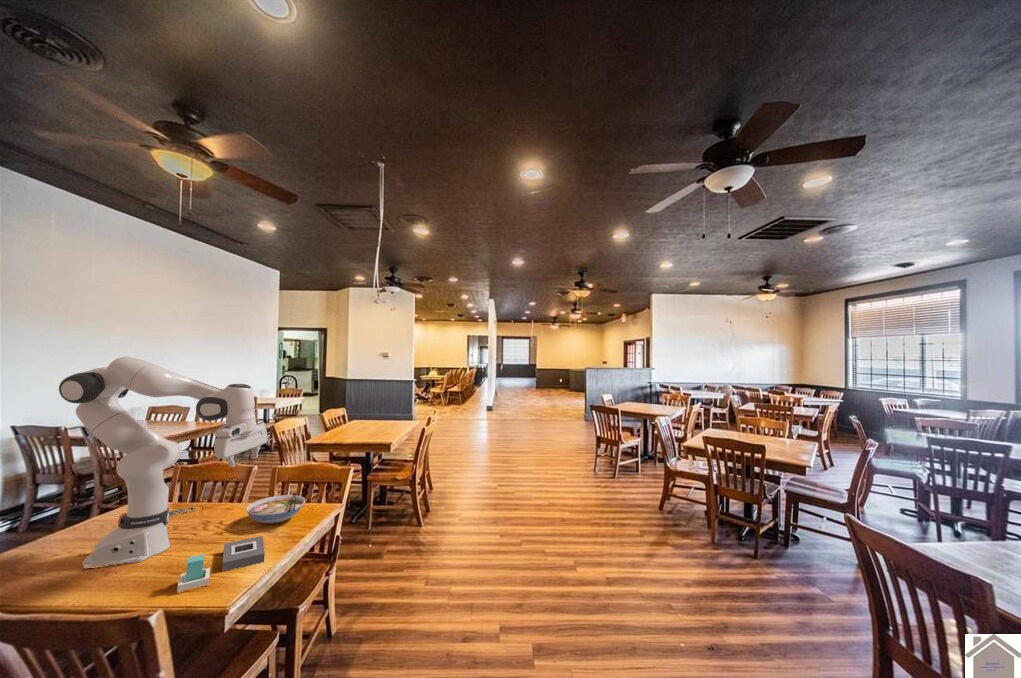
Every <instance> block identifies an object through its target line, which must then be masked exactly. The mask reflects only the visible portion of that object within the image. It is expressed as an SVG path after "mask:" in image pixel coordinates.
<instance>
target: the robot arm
mask: <svg viewBox="0 0 1021 678" xmlns="http://www.w3.org/2000/svg"><path fill="white" fill-rule="evenodd" d="M129 391H131V392H134V393H136V394H138V395H142V396H146V397H152V398H164V397H175V396H176V397H177V396H178V397H181V396H182V397H189V398H193V399H196V400H198V401H197V403H196V406H195V411H196V415H197V416H198V417H199V419H201V420H203V421H206V422H209V421H210V422H212V421H213V422H214V421H217V420H221V419H226V422H227V423H225V424H224V425H223V426H221V427H219V428H218V429H217V430H215V431H214V437H215V440H214V444H213V446H214V456H215V458H216V459H218V460H219V459H220V460H221V459H223V460H224V459H225V460H226V461H227V463H228V464H229V465H228V466H229V468H236V467H237V466H238V462H237V461H235V460H234V459H235V455H237V454H241V453H243V452H247V451H249V450H251V449H253V450H252V453H251V454H250V459H253V460H255V459H258V457H259V455H258V454H259V451H260V449H261V446H262V445H264V444H265V445H266V444H267V442H268V440H269V439H268V430H267V428H266V423H265V422H263V421H262V420H260V421H256V413H255V405H256V404H255V395H254V391H253V388H252V387H251V386H250V385H249V384H246V383H245V384H244V383H231V384H228V385H227V386H226V387H225V388H219V387H215V386H213V385H209V384H207V383H205V382H201V381H198V380H195V379H192V378H189V377H187V376H184V375H181V374H179V373H176V372H175V371H171V370H169V369H166V368H164V367H162V366H159V365H156V364H155V363H152V362H149V361H146V360H144V359H143V360H142V359H139V358H136V357H132V356H121V357H118V358H116V359H114V360H112V362H111V363H109V364H108V366H104V367H98V368H92V369H90V370H86V371H83V372H77V373H74V374H71V375H69V376H67V377H65V378H63V379H62V381H61V382H60V383H59V385H58V392H59V395H60V396H61V398H62V399H63V400H64V401H66V402H68V403H71V404H78V405H77V406H76V408H75V414H76V416H77V418H78V419H79V421H80V422H81V423H82V424H83V426H84V427H85V428H86V429H87V430H88V431H89V432H90V434H93V436H95V437H96V438H97V439H98V440H99V441H101V442H102V444H104V445H105V446H106V447H107V448H109V449H111V450H114V451H118V452H120V453H124V454H125V455H124V456H123V457H121V458H120V460H119V461H118V462H117V464H116V473H117V475H118V476H119V477H120V478H121V479H122V480H123V481H124V483H125V486H126V489H127V507H126V508H127V510H126V512H123V513H121V515H120V516H119V518H118V522H117V527H116V528H115V529H113V530H112V531H110V532H109V533H108V534H107V535H105V536H104V537H102V538H101V539H100V540H99V541H98V542H97V544H96V545H95V547H94V549H93V551H92V553H90V554H89V555H88V556H86V557H85V559H84V560H83V561H82V564H81V566H82V565H83V567H86V568H87V567H96V566H105V565H115V564H121V565H124V564H123V563H128V564H133V563H134V564H135V563H140V562H143V561H146V560H147V559H148V558H150V557H153V556H155V555H159V554H160V553H162V552H164V551H166V550H167V549H168V548H170V546H171V543H170V539H169V538H170V537H169V534H168V523H169V518H170V517H169V512H170V511H169V510H170V508H169V494H170V493H169V492H170V488H169V486H168V485H167V484H166V483H165V479H164V475H163V474H164V471H165V470H166V469H168V468H170V467H172V466H173V465H174V464H176V462H178V461H179V459H180V458H181V457H182V454H183V449H182V446H181V445H180V444H179V443H178V442H176V441H174V440H170V439H166V438H164V437H163V436H162V435H160V434H157V433H156V432H154V431H153V430H151V429H148V428H147V427H146V426H144V425H143V424H142V423H141V422H139V420H137V418H135V417H134V416H133V415H132V414H130V413H129V412H128V411H127V410H126V409H125V408H124V407H123V406H121V405H120V403H119V399H120V398H121V399H123V398H125V397H126V396H127V394H128V393H129ZM85 564H87V565H85ZM115 566H116V565H115Z"/></svg>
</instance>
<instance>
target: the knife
mask: <svg viewBox="0 0 1021 678" xmlns="http://www.w3.org/2000/svg"><path fill="white" fill-rule="evenodd" d="M185 509H194V510H195V509H196V510H197V508H196V507H194V506H192V507H183V508H182V507H181V508H178V509H175V510H172V511H169V518H171V517H170V516H172V515H174V514H176V513H180V512H183V513H186V514H188V513H187V512H190V513H192V512H191V511H193V512H194V510H186V511H183V510H185ZM196 510H195V511H196ZM174 516H175V515H174ZM172 517H173V516H172Z"/></svg>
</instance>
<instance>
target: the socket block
mask: <svg viewBox="0 0 1021 678" xmlns="http://www.w3.org/2000/svg"><path fill="white" fill-rule="evenodd" d="M263 537H264V536H263V535H261V536H256V537H255V536H254V537H251V538H246V539H240V540H236V541H232V542H231V541H230V542H227V543H224V544H223V556H222V567H221V569H222V570H221V572H222V571H224V572H226V571H225V570H228V571H231V569H233V570H235V569H234V568H237V569H240V568H239V567H241V568H245V567H249V566H253V565H252V564H254V565H256V563H258V564H262V563H265V554H266V553H265V552H266V551H265V546H264V538H263ZM261 562H262V563H261ZM248 565H249V566H248ZM244 566H245V567H244Z"/></svg>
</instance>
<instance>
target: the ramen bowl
mask: <svg viewBox="0 0 1021 678" xmlns="http://www.w3.org/2000/svg"><path fill="white" fill-rule="evenodd" d="M305 503H306V499H305V497H303V496H300V495H297V493H296V492H294V493H293V494H289V495H286V494H285V495H283V494H282V495H275V496H269V497H265V498H261V499H258V500H256V501H254V502H252V503H249V505H247V506H246V507H245V508H246V512H247V514H248V516H250V518H251V519H252V520H253V521H256V522H257V523H263V524H268V523H269V524H270V525H275V524H274V523H276V524H279V522H280V523H282V522H284V521H287V520H289V519H291V518H293V517H294V516H295V515H297V513H298V512H299V511H300V510H301V509H302V508H303V506H304V504H305Z"/></svg>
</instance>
